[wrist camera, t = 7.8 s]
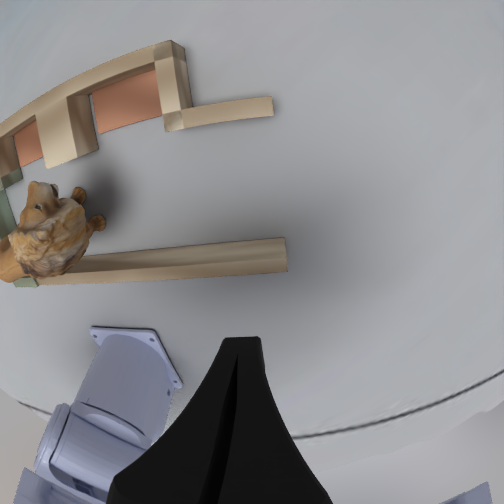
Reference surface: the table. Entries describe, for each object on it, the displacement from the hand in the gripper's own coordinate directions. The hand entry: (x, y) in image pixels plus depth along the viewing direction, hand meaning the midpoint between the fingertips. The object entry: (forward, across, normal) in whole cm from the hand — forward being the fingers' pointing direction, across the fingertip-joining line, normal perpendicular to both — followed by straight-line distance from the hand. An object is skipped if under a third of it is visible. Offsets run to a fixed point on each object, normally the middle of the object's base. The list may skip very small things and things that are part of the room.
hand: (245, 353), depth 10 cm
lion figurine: (+10, +15, -4) cm, 18 cm away
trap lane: (+9, +10, -6) cm, 15 cm away
